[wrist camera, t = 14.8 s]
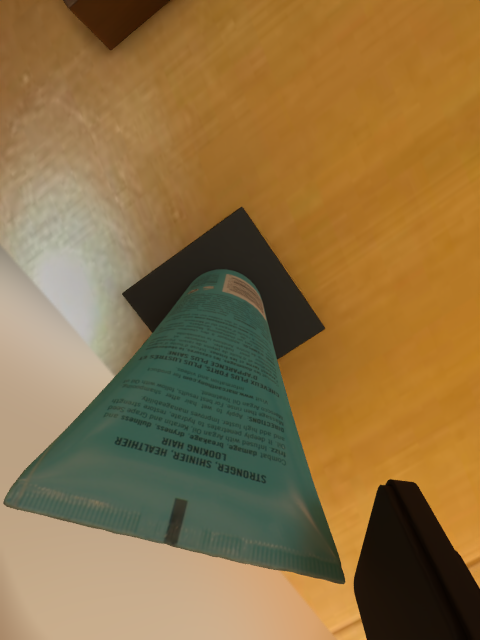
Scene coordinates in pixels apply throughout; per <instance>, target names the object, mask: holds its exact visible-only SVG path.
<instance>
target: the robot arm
mask: <svg viewBox="0 0 480 640" xmlns="http://www.w3.org/2000/svg"><path fill="white" fill-rule="evenodd" d="M354 593H355V597H356V601H357V605H358V608H359V612H360V616H361V619H362V623H363V627H364V630H365V634H366V638H367V640H480V588H479V587H478V585H477V583H476V582H475V580H474V578H473V576H472V575H471V573H470V571H469V570H468V568H467V566H466V564H465V563H464V561H463V559H462V558H461V556H460V555H459V554H458V552H457V551H455V550H454V548H453V546H452V545H451V543H450V541H449V539H448V538H447V536H446V534H445V532H444V531H443V529H442V527H441V525H440V524H439V522H438V520H437V518H436V517H435V515H434V513H433V512H432V510H431V508H430V506H429V505H428V503H427V501H426V499H425V498H424V496H423V494H422V492H421V491H420V489H419V487H418V486H417V484H416V483H414V482H407V481H399V480H391V479H390V480H388V481H387V483H386V485H380V486H379V487H378V490H377V493H376V497H375V501H374V505H373V509H372V512H371V516H370V520H369V524H368V527H367V531H366V535H365V539H364V542H363V546H362V550H361V554H360V557H359V561H358V565H357V569H356V572H355V577H354Z"/></svg>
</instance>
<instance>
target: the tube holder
mask: <svg viewBox="0 0 480 640" xmlns="http://www.w3.org/2000/svg"><path fill="white" fill-rule="evenodd" d="M63 1H64V3H65V4H66V5H67V7H68V8H69V9H70V10H71V11H72V12H73V13H74V14H75V15H76V16H77V17H78V18H79V19H80V20H81V21H82V22H83V23H84V24H85V25H86V26H87V27H88V28H89V29H90V30H91V31H92V32H93V33H94V34H95V35H96V36H97V37H98V38H99V39H100V40H101V41H102V42H103V43H104V44H105V45H106V46H107V47H108V48H109V49H110V50H112V49H113V48H114V47H115V46H117V45H118V44H119V43H120V42H121V41H122V40H124V39H125V38H126V37H127V36H128V35H129V34H131V33H132V32H133V31H134V30H135V29H137V28H138V27H139V26H140V25H141V24H142V23H144V22H145V21H146V20H147V19H148V18H150V17H151V16H152V15H153V14H154V13H155V12H157V11H158V10H159V9H160V8H161V7H162V6H164V5H165V4H166V3H167V2H168V1H170V0H63Z"/></svg>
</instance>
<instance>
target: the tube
mask: <svg viewBox="0 0 480 640" xmlns="http://www.w3.org/2000/svg"><path fill="white" fill-rule="evenodd" d="M4 505H6V506H7V507H10V508H14V509H17V510H23V511H27V512H31V513H36V514H40V515H44V516H48V517H52V518H56V519H60V520H63V521H67V522H72V523H76V524H80V525H83V526H87V527H91V528H97V529H103V530H106V531H109V532H112V533H116V534H122V535H127V536H132V537H137V538H140V539H145V540H148V541H152V542H157V543H164V544H167V545H170V546H173V547H177V548H181V549H185V550H189V551H193V552H198V553H203V554H207V555H209V556H213V557H220V558H224V559H228V560H231V561H235V562H239V563H244V564H251V565H254V566H259V567H264V568H268V569H273V570H281V571H289V572H294V573H297V574H300V575H305V576H310V577H313V578H318V579H324V580H327V581H330V582H334V583H338V584H344V583H345V577H344V573H343V570H342V568H341V562H340V558H339V555H338V552H337V549H336V546H335V543H334V540H333V537H332V534H331V532H330V529H329V526H328V523H327V520H326V517H325V515H324V512H323V509H322V506H321V503H320V500H319V498H318V495H317V492H316V489H315V486H314V483H313V480H312V477H311V473H310V470H309V467H308V464H307V461H306V457H305V454H304V451H303V448H302V444H301V441H300V438H299V435H298V431H297V428H296V425H295V421H294V418H293V415H292V411H291V408H290V404H289V401H288V397H287V394H286V390H285V387H284V383H283V379H282V376H281V372H280V369H279V365H278V361H277V358H276V354H275V350H274V346H273V342H272V338H271V334H270V330H269V326H268V322H267V318H266V314H265V310H264V306H263V302H262V299H261V296H260V293H259V291H258V290H257V288H256V286H255V285H254V284H253V283H252V282H251V281H250V280H249V279H248V278H247V277H245V276H244V275H242V274H240V273H238V272H235V271H232V270H227V269H218V270H212V271H209V272H206V273H204V274H202V275H200V276H199V277H197V278H196V279H195V280H194V281H193V282H192V283H191V284H190V286H189V287H188V288H187V290H186V291H185V292H184V293H183V295H182V296H181V297H180V299H179V300H178V301H177V303H176V304H175V305H174V307H173V308H172V309H171V311H170V312H169V313H168V314H167V316H166V317H165V318H164V319H163V321H162V322H161V323H160V324H159V326H158V327H157V328H156V329H155V331H154V332H153V333H152V334H151V336H150V337H149V338H148V339H147V340H146V342H145V343H144V344H143V345H142V346H141V348H140V349H139V350H138V351H137V352H136V353H135V355H134V356H133V357H132V358H131V359H130V361H129V362H128V363H127V364H126V365H125V366H124V367H123V368H122V370H121V371H120V372H119V373H118V374H117V375H116V376H115V377H114V378H113V380H112V381H111V382H110V383H109V384H108V385H107V386H106V387H105V388H104V390H102V392H101V393H100V394H99V395H98V396H97V397H96V398H95V399H94V400H93V401H92V402H91V404H89V406H88V407H87V408H86V409H85V410H84V411H83V412H82V413H81V414H80V415H79V416H78V417H77V418H76V419H75V420H74V421H73V423H71V425H70V426H69V427H68V428H67V429H66V430H65V431H64V432H63V433H62V434H61V435H60V436H59V437H58V438H57V439H56V440H55V441H54V442H53V443H52V444H51V445H50V446H49V447H48V448H47V449H46V450H45V451H44V452H43V453H42V454H41V455H39V456H38V458H36V460H34V461H33V462H32V463H31V464H30V465H29V466H28V467H27V468H26V470H24V471H23V473H22V474H21V475H20V477H19V478H18V479H17V480H16V482H15V483H14V484H13V486H12V487H11V488H10V490H9V492H8V493H7V495H6V497H5V499H4Z"/></svg>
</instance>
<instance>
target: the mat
mask: <svg viewBox="0 0 480 640" xmlns="http://www.w3.org/2000/svg"><path fill="white" fill-rule="evenodd" d="M218 269H227V270H232V271H235V272H238V273H240V274H242V275H244V276H245V277H247V278H248V279H249V280H250V281H251V282H252V283H253V284H254V285H255V286H256V288H257V290H258V291H259V293H260V296H261V299H262V302H263V306H264V310H265V314H266V318H267V322H268V326H269V330H270V334H271V338H272V342H273V346H274V350H275V354H276V358H277V359H279V358H280V357H282V356H284V355H285V354H287V353H288V352H290V351H291V350H293V349H294V348H296V347H298V346H299V345H301V344H302V343H304V342H305V341H307V340H308V339H310V338H312V337H313V336H315V335H316V334H318V333H319V332H321V331H322V330H324V329H325V327H324V326H323V324H322V323H321V321H320V320H319V318H318V317H317V316H316V314H315V313H314V311H313V310H312V308H311V307H310V305H309V304H308V302H307V301H306V299H305V298H304V296H303V295H302V294H301V292H300V291H299V289H298V288H297V286H296V285H295V283H294V282H293V280H292V279H291V277H290V276H289V275H288V273H287V272H286V270H285V269H284V267H283V266H282V264H281V263H280V261H279V260H278V258H277V257H276V255H275V254H274V253H273V251H272V250H271V248H270V247H269V245H268V244H267V242H266V241H265V239H264V238H263V236H262V235H261V234H260V232H259V231H258V229H257V228H256V226H255V225H254V223H253V222H252V220H251V219H250V217H249V216H248V214H247V213H246V212H245V210H244V209H243V207H241V208H239V209H238V210H236V211H235V212H234V213H232V214H231V215H230V216H228V217H227V218H225V219H224V220H223V221H221V222H220V223H219V224H217V225H216V226H214V227H213V228H212V229H210V230H209V231H207V232H206V233H205V234H203V235H202V236H201V237H199V238H198V239H196V240H195V241H194V242H192V243H191V244H190V245H188V246H187V247H185V248H184V249H183V250H181V251H180V252H178V253H177V254H176V255H174V256H173V257H172V258H170V259H169V260H167V261H166V262H165V263H163V264H162V265H161V266H159V267H158V268H156V269H155V270H154V271H152V272H151V273H150V274H148V275H147V276H145V277H144V278H143V279H141V280H140V281H138V282H137V283H136V284H134V285H133V286H132V287H130V288H129V289H127V290H126V291H125V292H123V293H122V295H123V296H124V297H125V298H126V300H127V301H128V302H129V304H130V305H131V306H132V307H133V309H134V310H135V311H136V312H137V314H138V315H139V316H140V317H141V319H142V320H143V321H144V323H145V324H146V325H147V326H148V328H149V329H150V330H151V331H152V333H153V332H154V331H155V329H156V328H157V327H158V326H159V324H160V323H161V322H162V321H163V319H164V318H165V317H166V316H167V314H168V313H169V312H170V311H171V309H172V308H173V307H174V305H175V304H176V303H177V301H178V300H179V299H180V297H181V296H182V295H183V293H184V292H185V291H186V290H187V288H188V287H189V286H190V284H191V283H192V282H193V281H194V280H195V279H196V278H197V277H199V276H200V275H202V274H204V273H206V272H209V271H212V270H218Z"/></svg>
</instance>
